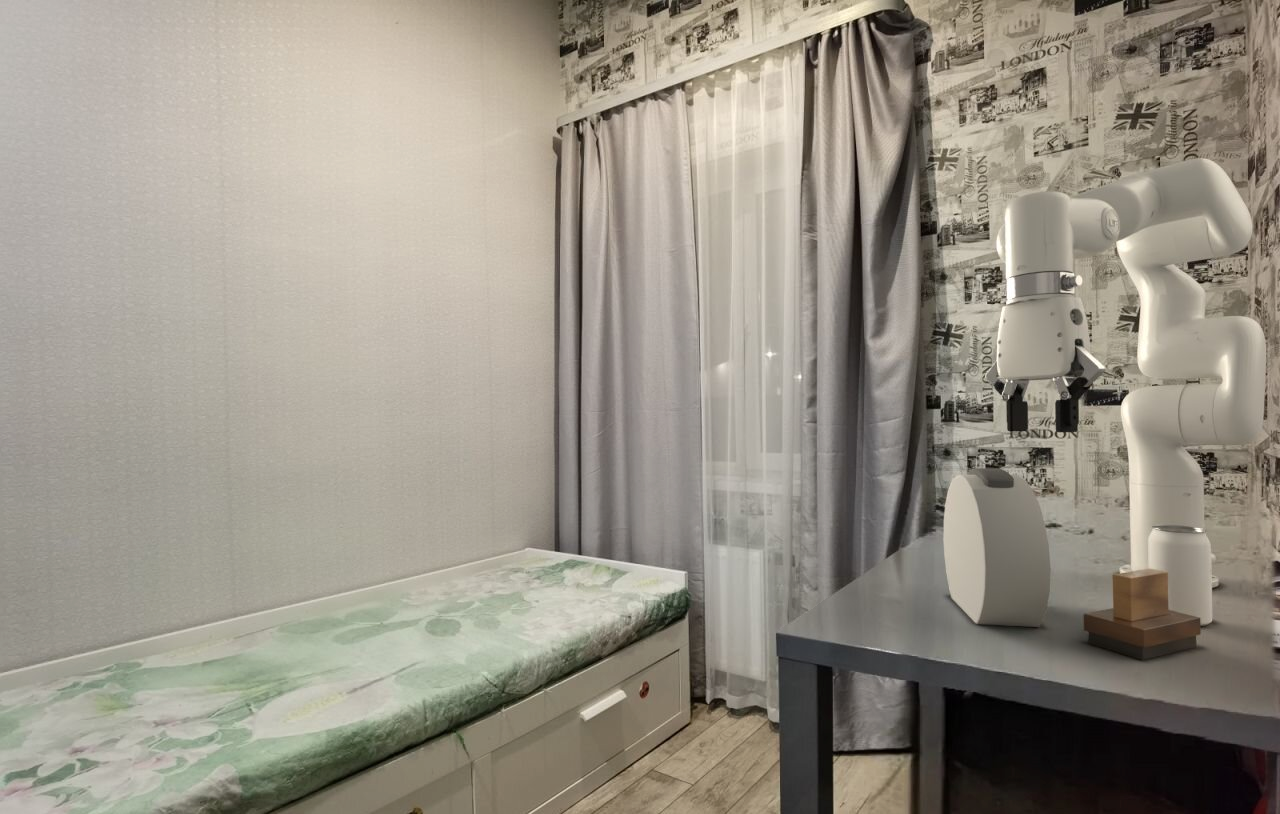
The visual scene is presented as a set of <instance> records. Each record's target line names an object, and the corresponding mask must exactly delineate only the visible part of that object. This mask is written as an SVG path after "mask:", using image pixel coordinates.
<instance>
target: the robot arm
mask: <svg viewBox="0 0 1280 814" xmlns="http://www.w3.org/2000/svg"><path fill="white" fill-rule="evenodd" d="M1252 235H1253V220H1252V217H1251V212H1250V211H1249V209H1248V206H1247V204H1246V203H1245V202H1244V200H1243V198H1242V196H1241V195H1240V193H1239V191H1238V189H1237V188H1236V186H1235V184H1234V183H1233V181H1232V179H1231V178H1230V177H1229V175H1228V173H1226V171H1225V170H1224V169H1223V167H1221V166H1220V165H1219V164H1218V163H1217V162H1215V161H1213V160H1211V159H1209V158H1205V157H1197V158H1196V157H1195V158H1191V159H1187V160H1183V161H1179V162H1176V163H1172V164H1168V165H1164V166H1159V167H1157V168H1153V169H1150V170H1145V171H1141V172H1137V173H1132V174H1130V175H1127V176H1125V177H1122V178H1119V179H1117V180H1114V181H1111V182H1108V183H1106V184H1103V185H1100V186H1097V187H1094V188H1091V189H1089V190H1086V191H1083V192H1079V193H1077V194H1074V195H1072V196H1069V195H1068V194H1066V193H1065V192H1062V191H1055V190H1053V191H1052V190H1047V191H1037V192H1032V193H1028V194H1025V195H1022V196H1019V197H1016V198H1014V199H1013V200H1012V201H1010V202H1009V203H1008V204H1007V206H1006V208H1005V212H1004V223H1003V224H1002V225H1001V226H1000V228H999V230H998V233H997V235H996V251H997V255H998V257H999V259H1000V260H1001V262H1002V263H1003V264H1004V265H1005V305H1003V306H1002V308H1001V312H1000V317H999V324H998V332H997V340H996V341H997V343H996V361H995V362H994V363H993V365H992V366H991V367H990V368H989V370H988V371H987V372H986V374H985V379H986V381H988V382H989V384H990V385H991V386H992V387H994V389H995V391H996V392H997V393H998V394H999V395H1000V396H1001V398H1000V399H1001V400H1002V401H1003V402H1006V403H1005V405H1006V409H1005V410H1006V412H1005V413H1006V430H1007V431H1008V432H1027V431H1028V430H1029V404H1028V401H1026V400H1024V398H1025V395H1026V392H1027V390H1028V386H1029V384H1030V381H1043V380H1045V381H1046V380H1052V381H1053V383H1054V386H1055V388H1056V391H1057V393H1058V396H1059V399H1055V403H1054V409H1055V410H1054V411H1055V412H1054V414H1055V415H1054V416H1055V418H1054V419H1055V422H1054V423H1055V431H1056V432H1057V433H1077V432H1078V430H1079V424H1080V401H1081V400H1082V399H1084V397H1085V393H1087V391H1088V390H1089V389H1090V388H1091V387H1092V386H1093V385H1094V382H1096V381H1097V380H1098V379H1099V378H1100V377H1101V376H1102V375H1103V374H1104V372H1105V371H1106V366H1105V365H1104V364H1103V363H1101V362H1100V361H1099V360H1098V358H1095V357H1094V355H1092V349H1091V338H1090V331H1089V326H1088V325H1089V324H1088V319H1087V314H1086V312H1085V308H1084V304H1083V301H1082V298H1081V297H1075V291H1076V290H1075V289H1076V287H1081V286H1082V285H1083V282H1084V281H1083V277H1082V276H1081V275H1079V274H1077V275H1075V271H1074V260H1080V259H1085V258H1091V257H1094V256H1098V255H1100V254H1103V253H1105V252H1106V251H1108V250H1109V249H1111V248H1112V247H1113V246H1114V245H1115V243H1116V251H1117V254H1118V256H1119V259H1120V261H1121V263H1122V265H1123V267H1124V269H1125V270H1126V272H1127V273H1128V276H1129V277H1130V279H1131V281H1132V283H1133V284H1134V286H1135V288H1136V290H1137V293H1138V296H1139V300H1140V301H1139V302H1140V309H1139V310H1140V312H1139V323H1138V336H1137V351H1136V352H1137V353H1136V357H1137V366H1138V369H1139V371H1140V372H1141V374H1143V375H1144V376H1146V377H1147V378H1150V379H1157V380H1183V379H1184V380H1186V379H1187V380H1188V379H1189V380H1190V379H1214V378H1216V379H1217V378H1218V379H1222V382H1221V383H1203V384H1189V383H1188V384H1164V385H1163V384H1162V385H1152V386H1150V385H1149V386H1144V387H1140V388H1137V389H1134V390H1133V391H1131V392H1129V393H1128V394H1126V395H1125V397H1124V398H1123V400H1122V402H1121V405H1120V419H1121V424H1122V429H1123V432H1124V438H1125V441H1126V448H1127V457H1128V479H1129V480H1128V481H1129V482H1128V483H1129V485H1128V486H1129V487H1128V489H1129V492H1128V493H1129V528H1130V530H1129V531H1130V532H1129V534H1130V537H1129V539H1130V564H1124V565H1122V566H1121V565H1120V567H1119V573H1125V572H1131V571H1138V570H1144V569H1149V563H1148V537H1149V535H1150V534H1151V532H1152V530H1153V528H1152V526H1154V525H1179V526H1189V527H1196V528H1201V529H1204V530H1206V527H1205V526H1206V523H1205V480H1204V479H1205V478H1204V472H1203V470H1202V467H1201V466H1200V464H1199V463H1198V462H1197V461H1196V459H1195V458H1194V457H1193V456H1192V454H1190V453H1189V452H1188V451H1187V450H1186V449H1185V448H1184V446H1191V445H1196V446H1244V445H1248V444H1251V443H1253V442H1255V441H1256V440H1257V439H1258V438H1259V436H1260V435H1261V432H1262V429H1263V424H1264V413H1265V396H1266V395H1265V394H1266V392H1265V391H1266V377H1267V375H1266V373H1267V342H1266V337H1265V333H1264V331H1263V329H1262V326H1261V325H1260V324H1259V323H1258V321H1256V320H1255V319H1254V318H1252V317H1248V316H1245V315H1226V316H1216V317H1206V302H1207V301H1206V300H1207V295H1206V294H1207V293H1206V291H1205V289H1204V288H1203V286H1201V284H1200V283H1199V282H1198V281H1197V280H1196V279H1194V278H1193V277H1192V276H1191V275H1190V274H1188V273H1186V272H1185V271H1183V270H1182V269H1180V268H1179V267H1178V266H1177V264H1183V263H1191V262H1198V261H1202V260H1209V259H1215V258H1223V257H1227V256H1231V255H1234V254H1237V253H1240V251H1242V250H1244V249H1245V248H1246V247H1247V245H1248V244H1249V243H1250V241H1251V238H1252ZM1216 562H1217V557H1216V555H1215V554H1214V553H1213V552H1211V565H1213V564H1215V563H1216ZM1219 585H1220V579H1219V577H1218V576H1217V575H1215V574H1212V589H1214V588H1216V587H1218V586H1219Z"/></svg>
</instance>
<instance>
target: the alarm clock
mask: <svg viewBox="0 0 1280 814" xmlns="http://www.w3.org/2000/svg"><path fill="white" fill-rule="evenodd" d="M1046 527H1047V526H1046V523H1045V518H1044V516H1043V512H1042V509H1041V505H1040V503H1039V500H1038V499H1037V496H1036V494H1035V492H1034V489H1033V488H1032V487H1031V485H1030V484H1029V482H1027V480H1026V479H1024V478H1023V477H1022V476H1019V475H1018V474H1011V473H1010V472H1007V470H1005V469H1002V468H998V467H997V468H995V467H994V468H993V467H991V468H987V467H986V468H985V467H980V468H979V467H977V468H975V467H974V468H972V469H970V470H969V471H968V472H966V474H958V475H956V476H955V477H954V478H953V479H952V480H951V482H950V484H949V486H948V490H947V493H946V499H945V504H944V514H943V536H942V537H943V555H944V563H945V572H946V573H945V574H946V578H947V585H948V590H949V595H950V598H951V599H952V600H953V601H954V602H955V604H957V606H959V607H960V608H961V610H963V611H964V613H965V614H967V616H968V617H969V618H970V619H971V620H972V621H973V622H974V623H975V624H977V625H989V626H1010V627H1027V628H1028V627H1031V628H1039V627H1040V626H1041V625H1042V623H1043V621H1044V618H1045V616H1046V613H1047V609H1048V605H1049V598H1050V592H1051V557H1050V554H1051V553H1050V544H1049V539H1048V533H1047V528H1046Z"/></svg>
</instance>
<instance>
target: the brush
mask: <svg viewBox="0 0 1280 814" xmlns="http://www.w3.org/2000/svg"><path fill="white" fill-rule="evenodd" d="M1112 603H1113V604H1112V608H1106V609H1102V610H1096V611H1091V612H1086V613H1083V631H1086V632H1087V636H1088V638H1087V640H1088V641H1087V642H1088V644H1090V645H1092V646H1096V647H1100V648H1102V649H1106V650H1108V651H1113V652H1115V653H1119V654H1121V655H1125V656H1128V657H1131V658H1134V659H1138V660H1141V661H1145V660H1149V659H1153V658H1157V657H1162V656H1165V655H1170V654H1173V653H1178V652H1182V651H1185V650H1189V649H1194V648H1197V636H1200V635H1201V633H1202V632H1201V626H1200V617H1196V616H1191V615H1187V614H1183V613H1179V612H1175V611H1170V610H1169V608H1168V572H1165V571H1160V570H1155V569H1144V570H1138V571H1131V572H1125V573H1120V572H1119V573H1113V574H1112Z"/></svg>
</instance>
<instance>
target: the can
mask: <svg viewBox="0 0 1280 814" xmlns="http://www.w3.org/2000/svg"><path fill="white" fill-rule="evenodd" d="M1152 528H1153V530H1152V532H1151V534H1150V535H1149V537H1148V563H1149V569H1155V570H1160V571H1165V572H1168V608H1169V610H1170V611H1175V612H1179V613H1183V614H1187V615H1191V616H1196V617H1200V627H1205V626H1208V625H1210V624H1211V623H1212V622H1213V588H1212V575H1213V573H1212V572H1213V571H1212V564H1211V553H1212V545H1211V541H1210V539H1209V538H1208V536H1207V529H1205V530H1204V529H1201V528H1196V527H1189V526H1179V525H1154V526H1152Z"/></svg>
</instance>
